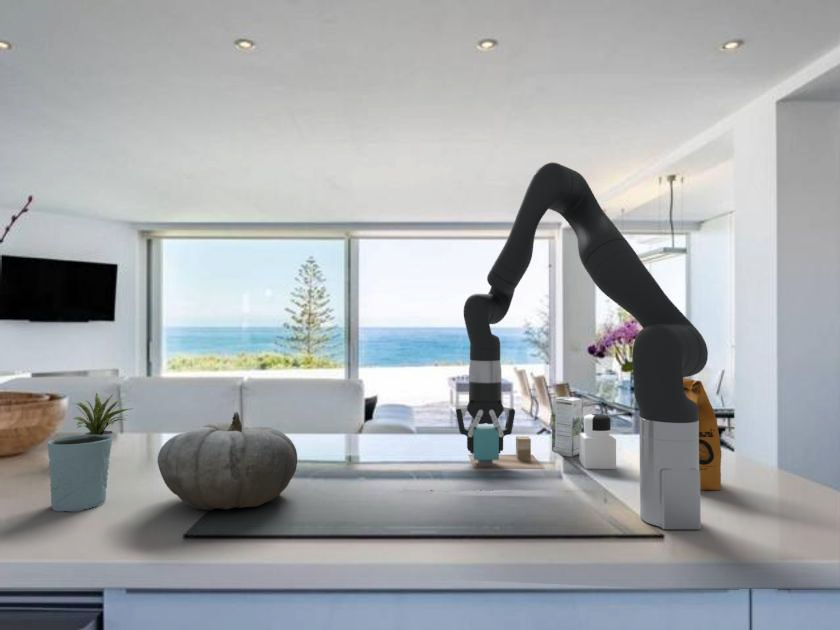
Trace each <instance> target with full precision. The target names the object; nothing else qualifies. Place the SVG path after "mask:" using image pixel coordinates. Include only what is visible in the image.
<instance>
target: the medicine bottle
mask: <svg viewBox="0 0 840 630" xmlns="http://www.w3.org/2000/svg"><path fill="white" fill-rule="evenodd" d="M611 422H612V421H611V417H610V416H608V415H606V414H601V413H600V414H599V413H591V414H590V413H589V414H587V415H584V417H583V432H582V433H580V434H579V454H578V456H579V462H580V464H581V465H582V466H583V468H584V469H585V470H588V469H589V470H616V469H617V439H616V438H615V437H614V436H613V435H611V434H610V433H611V427H612V426H611Z"/></svg>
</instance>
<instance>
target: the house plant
mask: <svg viewBox="0 0 840 630" xmlns="http://www.w3.org/2000/svg"><path fill="white" fill-rule="evenodd" d="M113 395H114V393H112V394H111V395H110V396H109V397H108V398H107V399H106V400H105V401H104V402H103V403H102V402H101V398H100V397H98V393H97V392H95V397H94V408H93V405H92V404H91V403H90V401H88V400H86V399H84V402H87V403H88V405H89V406H90V408H91V410H90V409H89V408H88V407H87V405H86V404H84V403H82V402H81V401H79V402H76V403H75V402H74V403H73V402H72V403H70V404H72V406H74V407H76V408H77V409H78V410H79V411H80V413H82V414H83V415H84V417H85V418H83V417H81V416H76V417H73V418H72V420H76V421H78V422H77V424H76V426H77V428H81V427H82V425H83V424H85V425H84V427H85V428H87V430H89V431H87V432H84V433H81V435H108V436H111V437H112V441H113V439H114V433H115V431H113V430H107V429H108V427H109V426H111V425H112V426H114V423H115V422H117V421H125V422H126V421H128V420H127V419H126V418H125V417H126V416H128V414H124V415H121V416H115V415H117V414H121V413H123V412H125V411H129V410H134V409H135V408H132V407H131V408H123V409H119V410H115V409H116V408H117V407H119V406H124V405H126V404H122V403H125V402H127V400H125V401H122V400H123V399H124V397H123V398H120V399H117V400H116V401H115V402H113V403H112V404H111V405H110V406H109V407H108V408H107V409H106V407H107V405H108V403H109V402H110V400H111V398H112V397H113ZM120 401H121V402H120ZM130 401H131V400H129V402H130ZM118 402H119V403H118ZM76 405H78V407H77V406H76ZM79 407H80V408H81V409H82V410H83V411H82V410H81V409H80V408H79ZM105 409H106V411H105ZM114 410H115V411H114ZM91 411H92V412H91ZM114 416H115V417H114ZM124 416H125V417H124ZM112 445H113V442H112V443H111V447H112ZM110 452H111V450H110Z"/></svg>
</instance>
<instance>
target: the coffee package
mask: <svg viewBox="0 0 840 630" xmlns="http://www.w3.org/2000/svg"><path fill="white" fill-rule="evenodd" d="M683 383H684V392H685V394H686V396H687V397H688V398H689V399H690V400H692V401H694V402H695V403H696V404H697V405H698V409H699V471H700V491H705V490H706V491H722V483H721V481H722V473H721V469H722V468H721V466H722V447H721V442H720V441H721V440H720V433H719V427H718V419H717V417H716V414H715V411H714V408H713V406H712V404H711V403H710V402H711V401H710V399H709V396H708V395H707V392H706V390H705V388H704V385H703V382H702V381H700V380H695V379H691V378H687V377H683Z"/></svg>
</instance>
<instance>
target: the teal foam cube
mask: <svg viewBox="0 0 840 630" xmlns="http://www.w3.org/2000/svg"><path fill="white" fill-rule="evenodd" d="M471 455H472V456H473V458H474V460H499V455H500V454H499V430H498V429H496V428H495V427H494V425H487V426H486V425H479V426H477V428H476V429H473V453H471Z"/></svg>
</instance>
